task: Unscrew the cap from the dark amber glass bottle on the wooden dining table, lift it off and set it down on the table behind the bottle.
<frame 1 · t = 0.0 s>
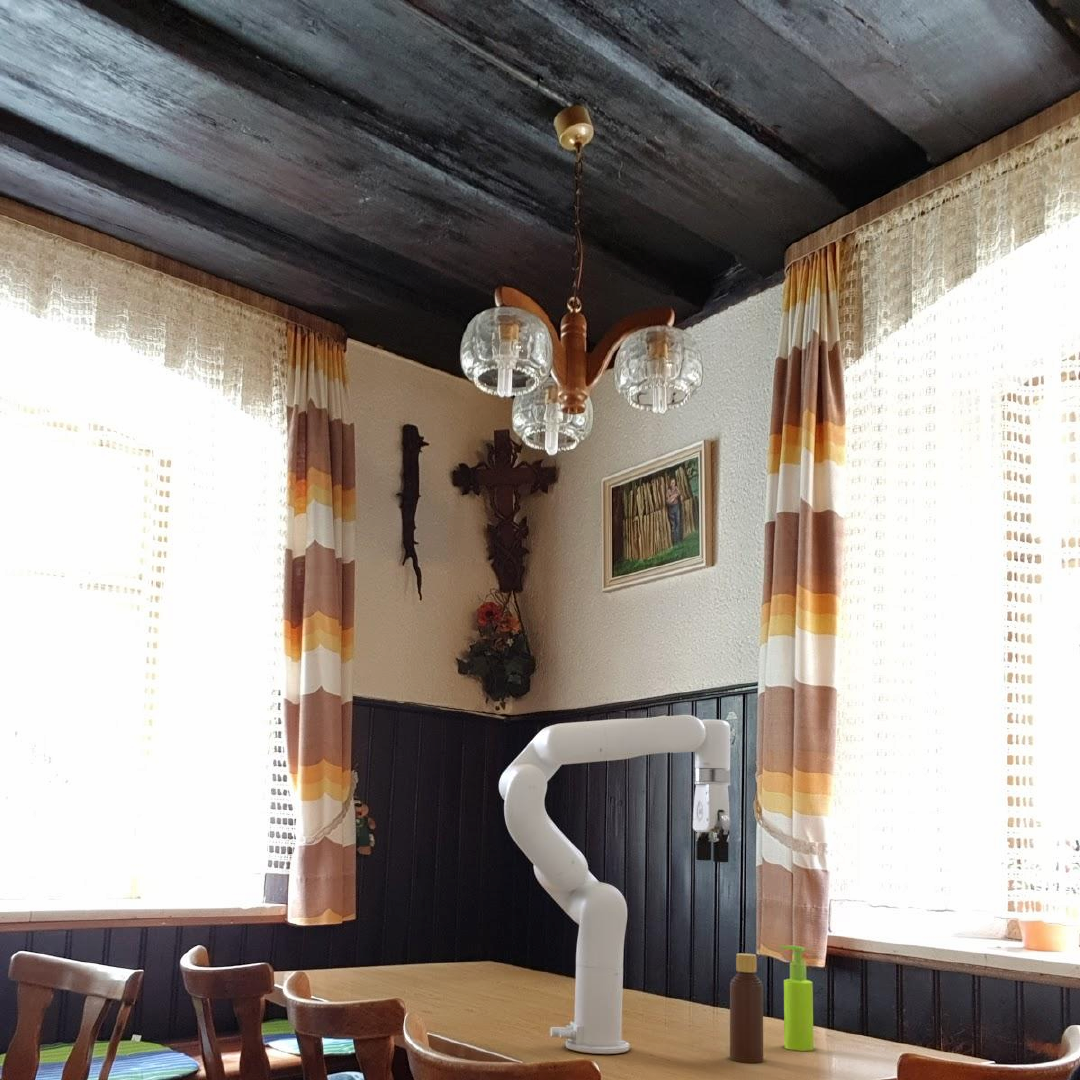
hand: (712, 861, 247), 37 cm above the table, tool pointing down, fingers open, 9 cm apart
bottle: (746, 1059, 228), on the table
soap dispenser: (796, 1048, 243), on the table
cap: (746, 956, 233), point 19 cm above the table, screwed on, not yet turned
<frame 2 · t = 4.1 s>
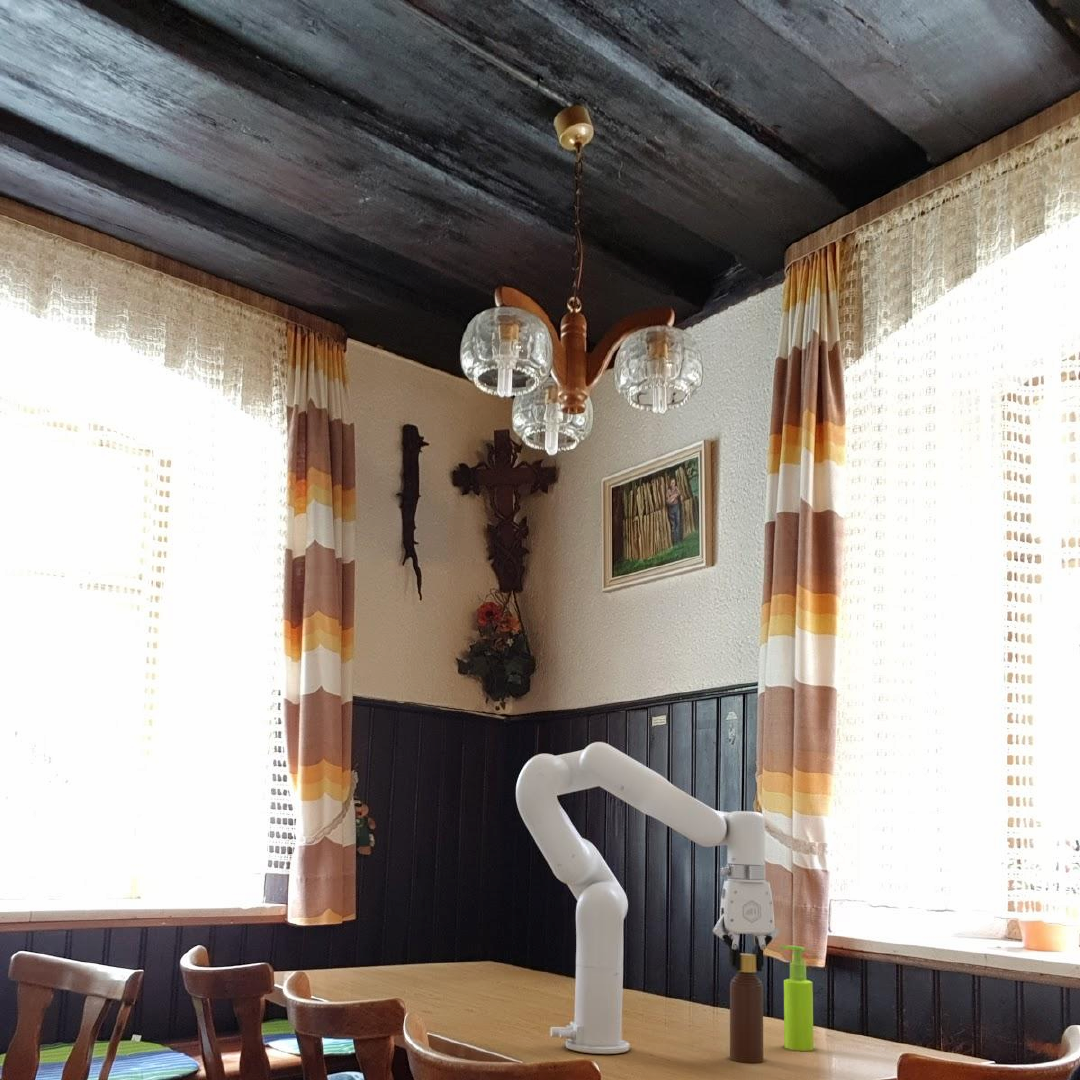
hand: (746, 969, 232), 17 cm above the table, tool pointing down, fingers closed on cap, 3 cm apart
cap: (746, 956, 233), point 19 cm above the table, screwed on, not yet turned, touching gripper
everything else where it was.
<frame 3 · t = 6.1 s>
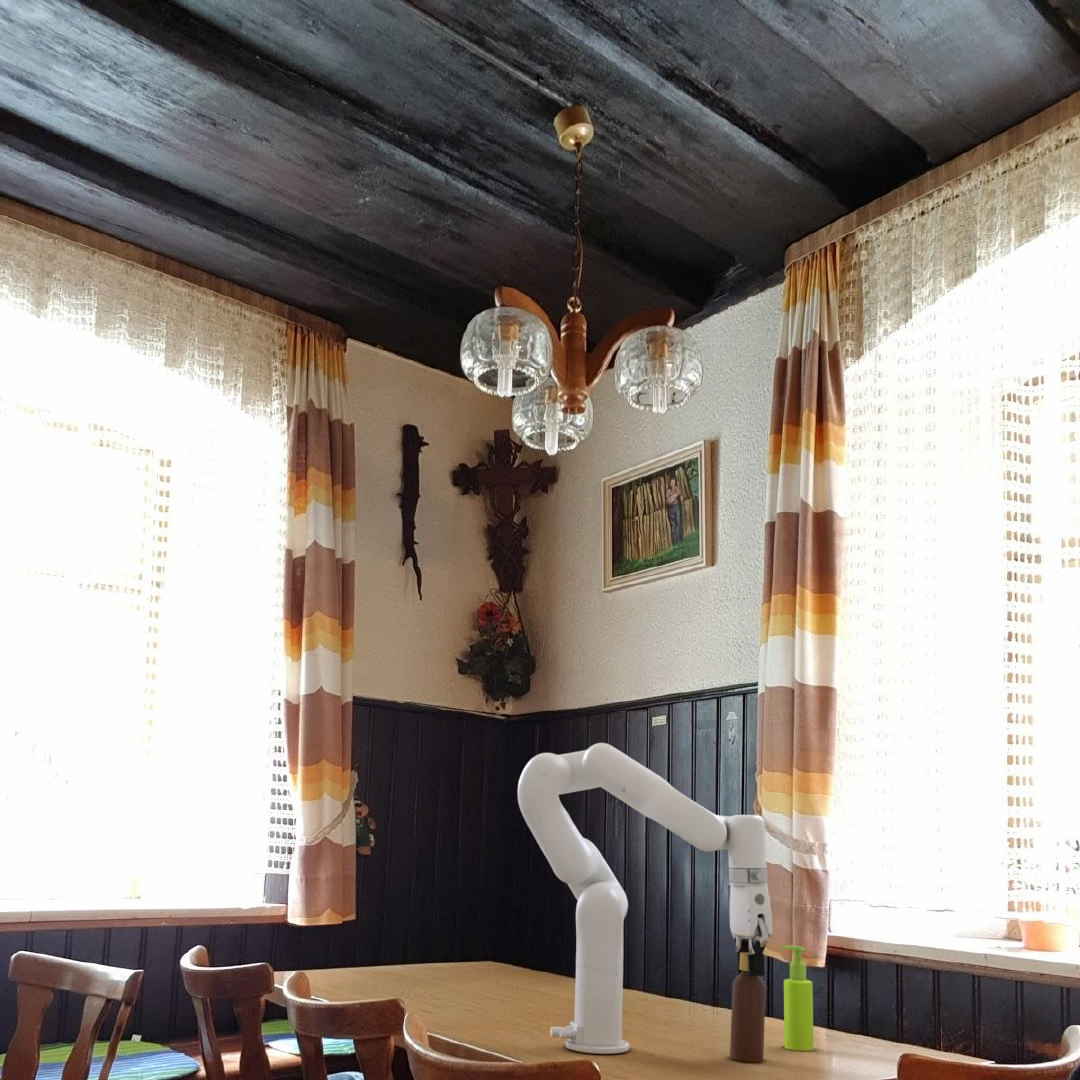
hand: (751, 973, 232), 16 cm above the table, tool pointing down, fingers closed on cap, 3 cm apart
bottle: (746, 1059, 228), on the table, touching gripper
cap: (749, 955, 233), point 19 cm above the table, turned 94° so far, risen 0.1 cm, still on its thread, touching gripper
everything else where it was.
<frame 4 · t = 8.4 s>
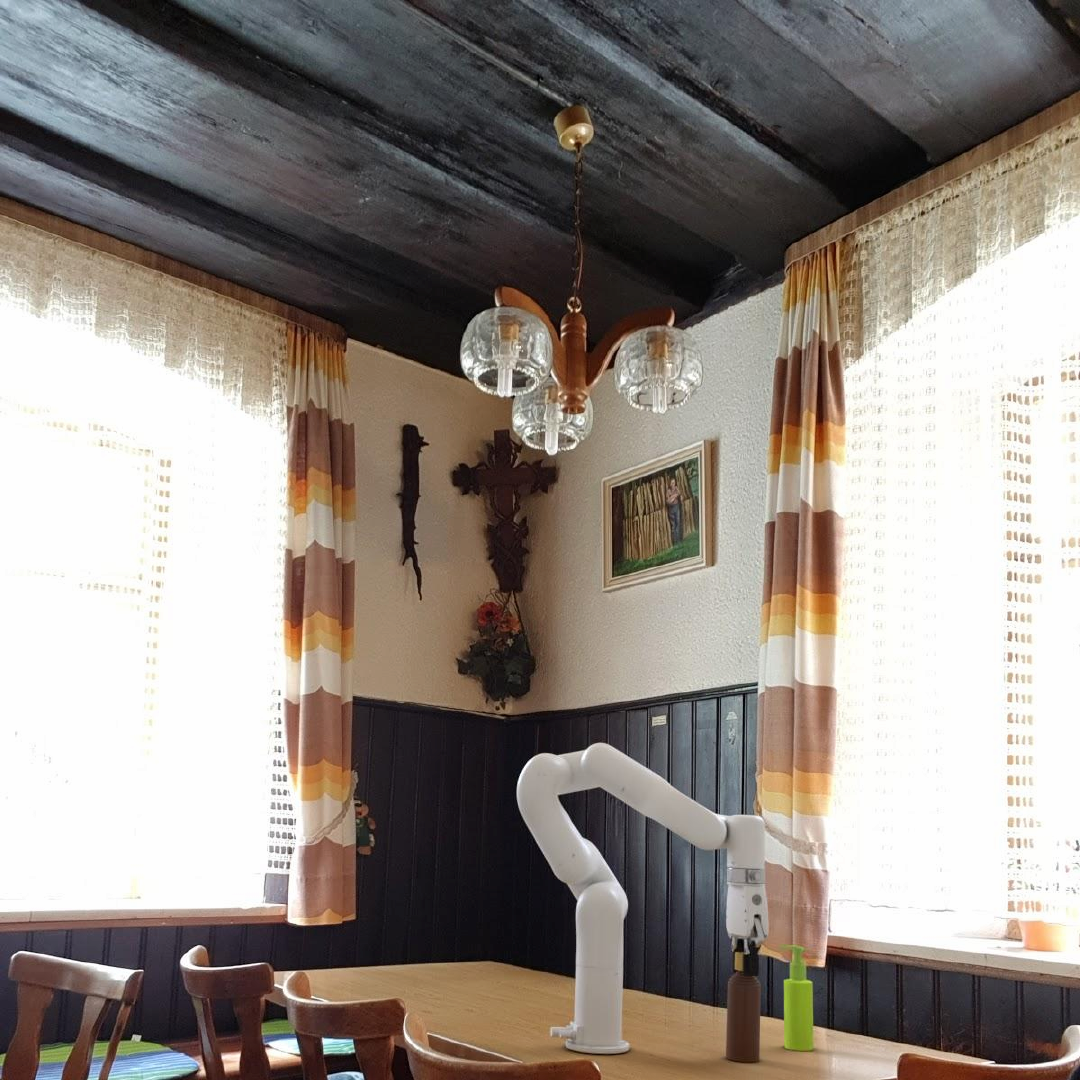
hand: (745, 973, 232), 16 cm above the table, tool pointing down, fingers closed on cap, 3 cm apart
bottle: (742, 1059, 228), on the table
cap: (745, 955, 233), point 19 cm above the table, turned 95° so far, risen 0.1 cm, still on its thread, touching gripper
everything else where it was.
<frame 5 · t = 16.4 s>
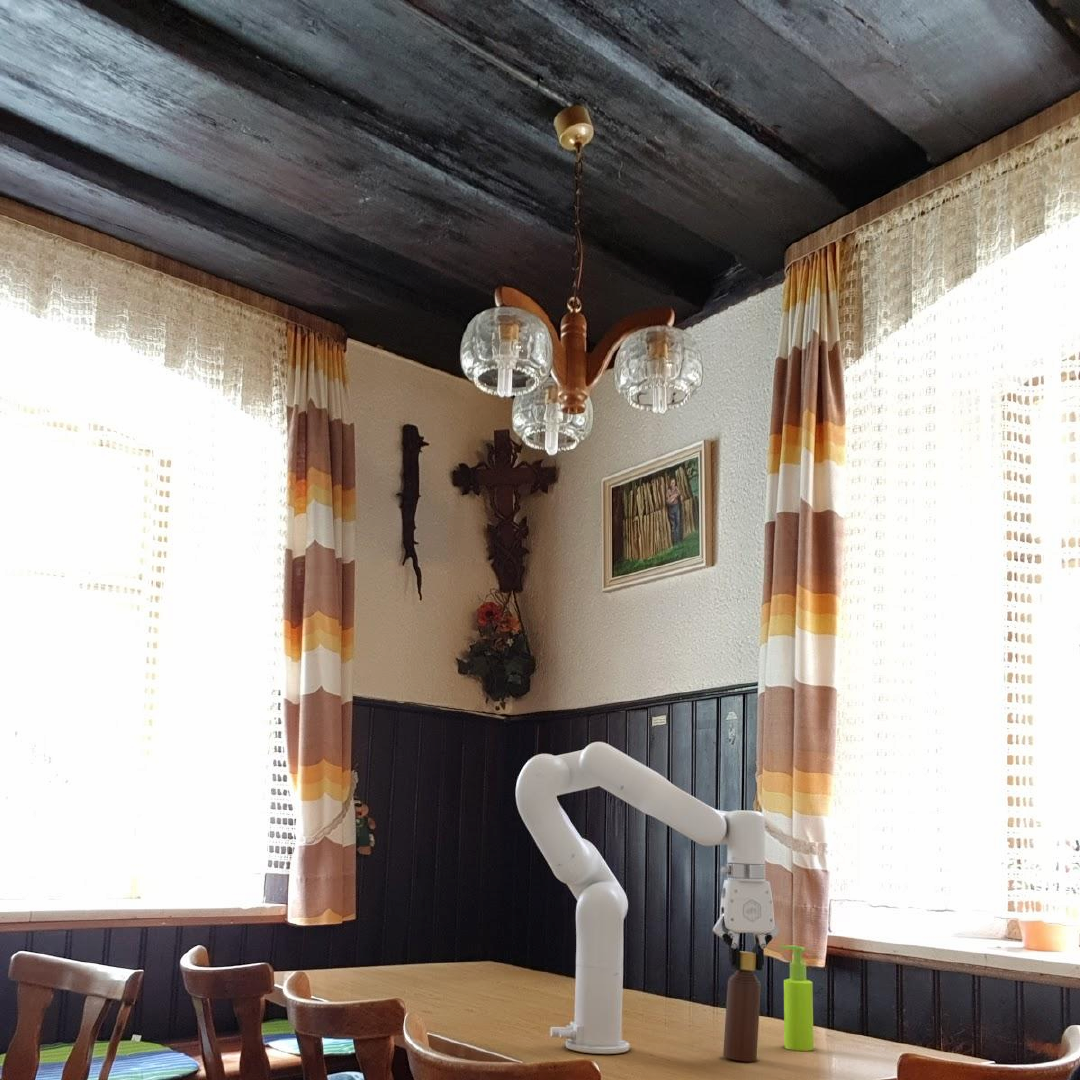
hand: (746, 968, 232), 17 cm above the table, tool pointing down, fingers closed on cap, 4 cm apart
cap: (746, 953, 233), point 19 cm above the table, turned 190° so far, risen 0.2 cm, still on its thread, touching gripper
everything else where it was.
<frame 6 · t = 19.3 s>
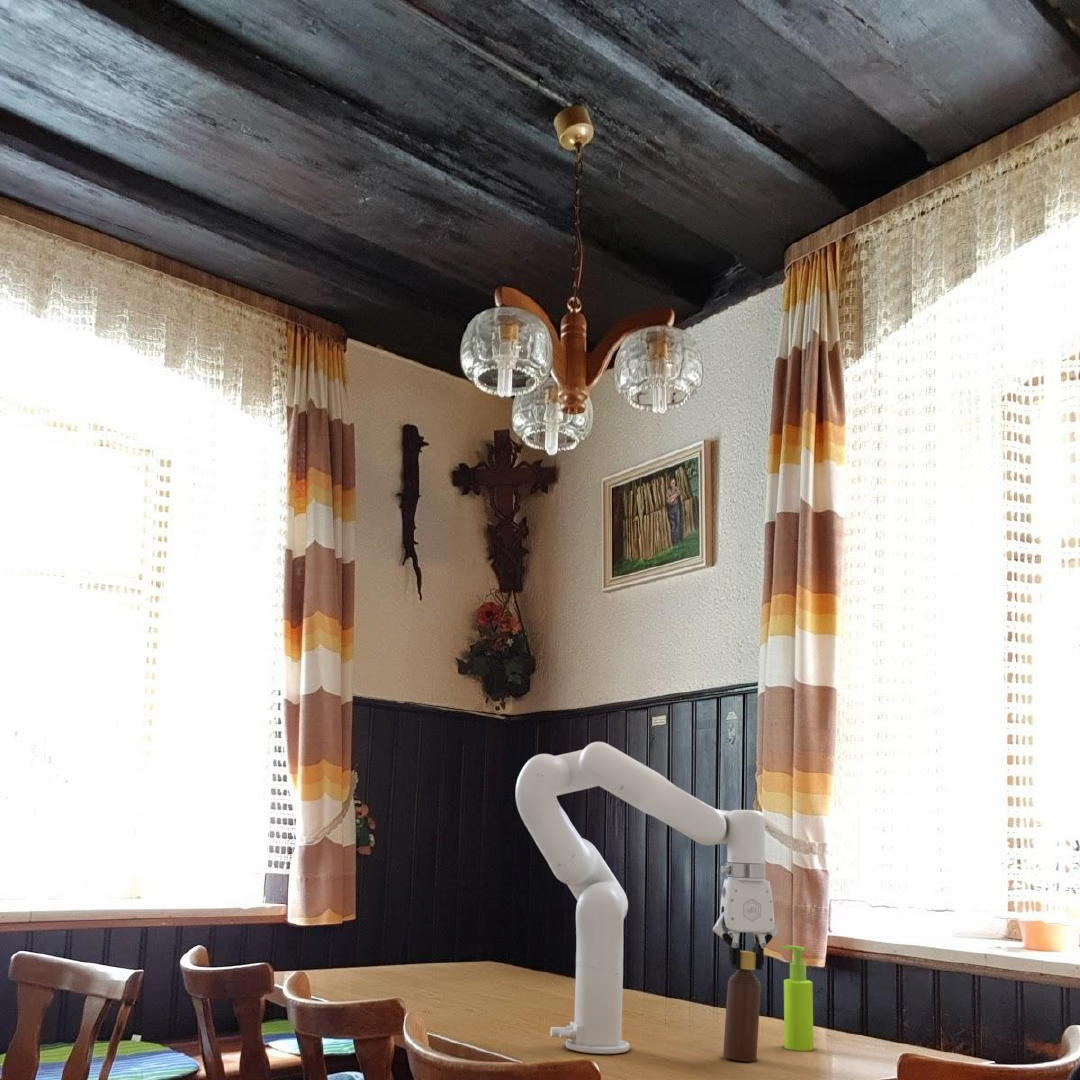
hand: (746, 967, 232), 17 cm above the table, tool pointing down, fingers closed on cap, 4 cm apart
cap: (746, 953, 233), point 20 cm above the table, turned 286° so far, risen 0.3 cm, still on its thread, touching gripper
everything else where it was.
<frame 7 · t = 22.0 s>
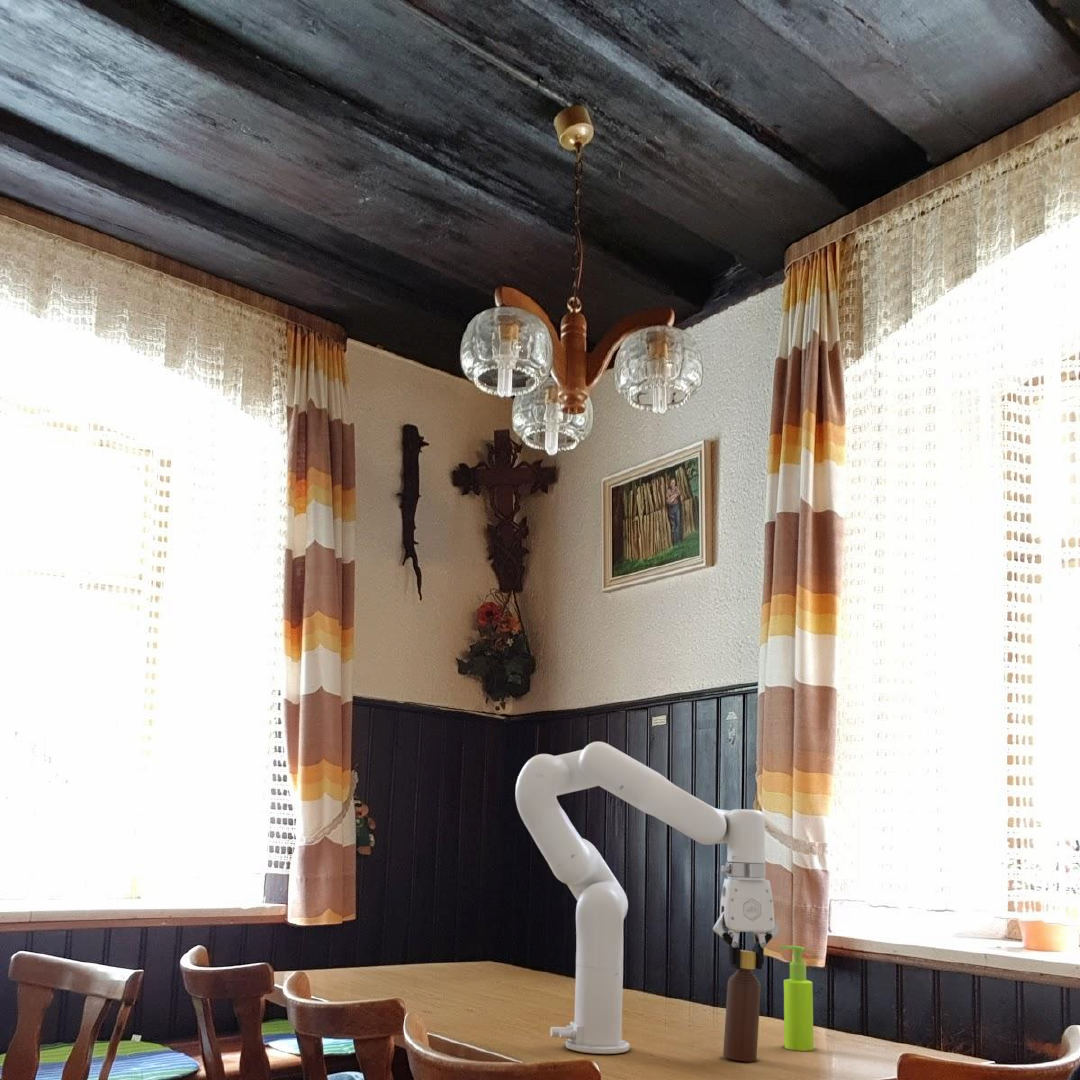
hand: (746, 967, 232), 17 cm above the table, tool pointing down, fingers closed on cap, 4 cm apart
cap: (746, 952, 233), point 20 cm above the table, turned 382° so far, risen 0.4 cm, still on its thread, touching gripper
everything else where it was.
when the fingers open (2 cm above the table, at t = 31.7 s): cap drops 2 cm, point 3 cm above the table.
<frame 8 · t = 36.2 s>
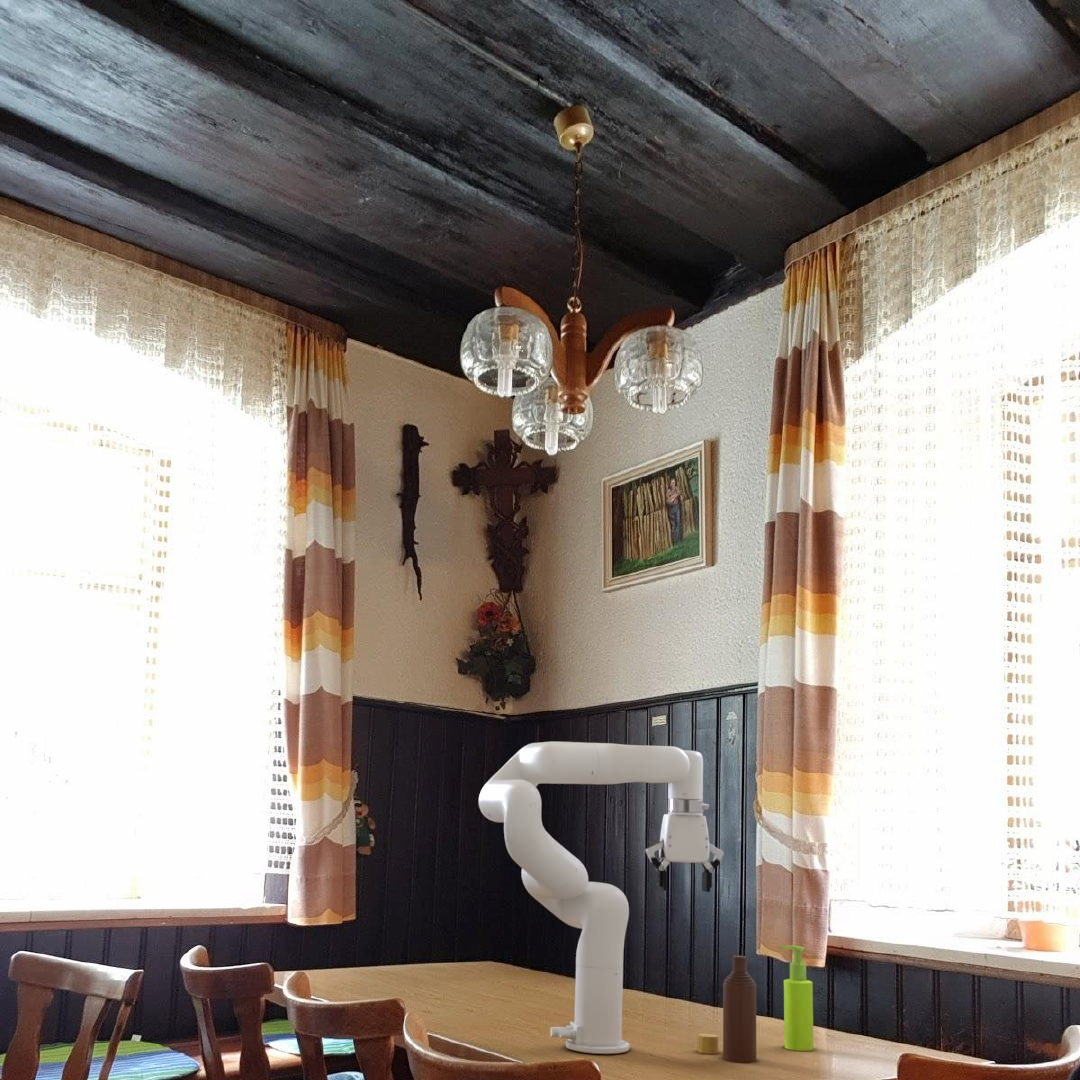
hand: (684, 890, 250), 30 cm above the table, tool pointing down, fingers open, 9 cm apart
cap: (707, 1036, 235), point 3 cm above the table, off its thread
at the end: cap came off its thread; cap point 2.8 cm above the table; the gripper is holding nothing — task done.
